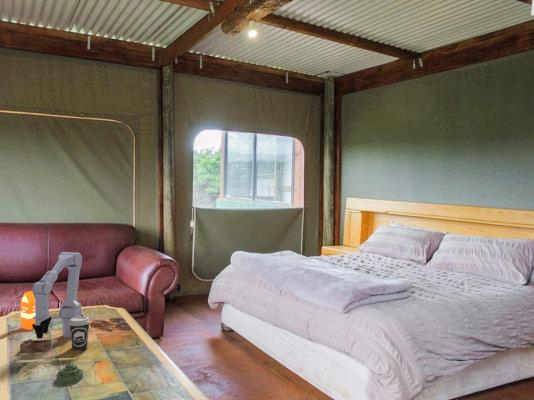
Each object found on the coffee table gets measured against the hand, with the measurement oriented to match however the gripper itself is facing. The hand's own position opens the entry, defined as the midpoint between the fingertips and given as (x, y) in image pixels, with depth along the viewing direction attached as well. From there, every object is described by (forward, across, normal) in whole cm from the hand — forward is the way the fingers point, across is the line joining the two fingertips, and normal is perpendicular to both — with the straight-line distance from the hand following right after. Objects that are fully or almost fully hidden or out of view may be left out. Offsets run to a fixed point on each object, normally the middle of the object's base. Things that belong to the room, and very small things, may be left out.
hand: (42, 335), depth 223 cm
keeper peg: (+8, 0, -6) cm, 10 cm away
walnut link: (+7, 0, -3) cm, 7 cm away
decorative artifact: (+8, +34, +20) cm, 40 cm away
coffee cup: (+8, -1, +16) cm, 18 cm away
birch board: (+8, -4, -3) cm, 9 cm away
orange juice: (+8, -42, -18) cm, 46 cm away
